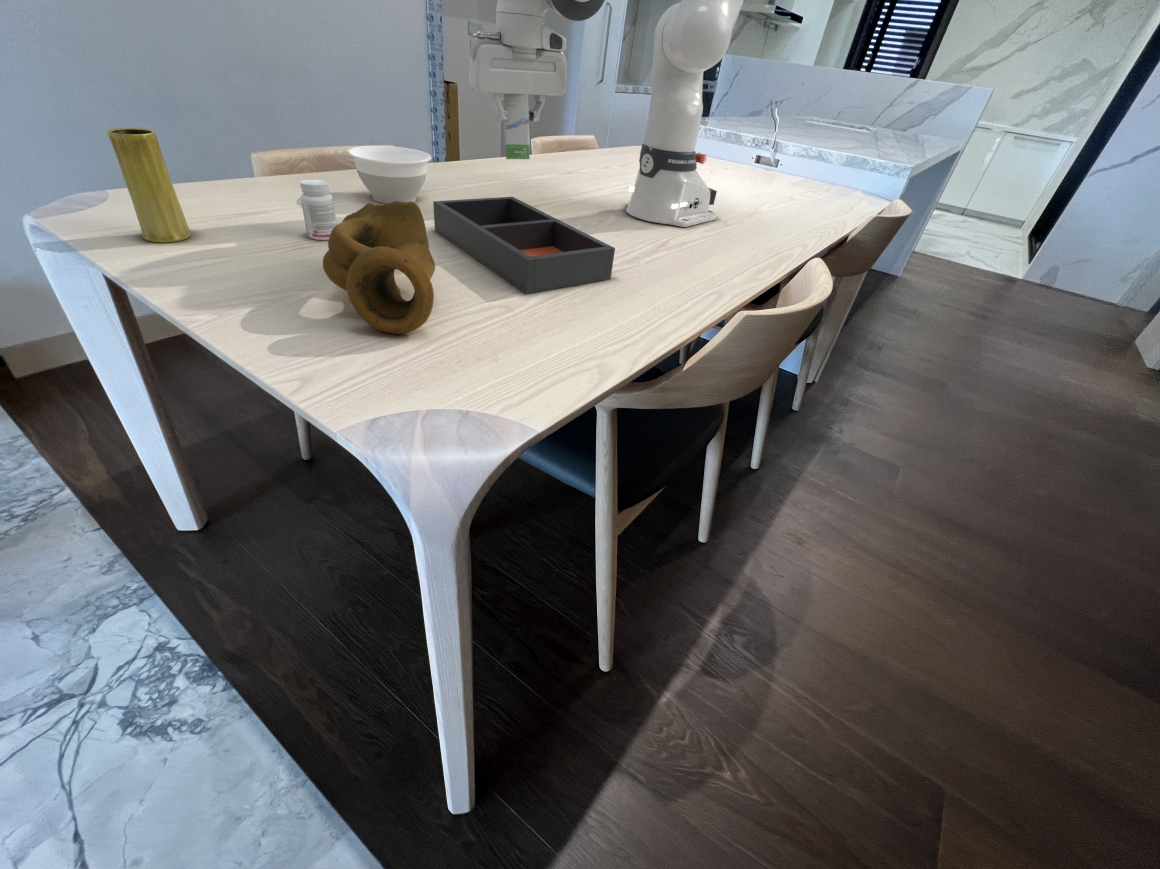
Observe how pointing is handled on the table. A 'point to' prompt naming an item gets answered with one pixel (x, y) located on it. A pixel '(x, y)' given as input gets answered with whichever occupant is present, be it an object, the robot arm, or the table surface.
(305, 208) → the pill bottle
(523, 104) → the ink box
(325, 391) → the table surface
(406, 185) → the bowl
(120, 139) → the vase
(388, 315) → the brown looped sculpture
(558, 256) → the organiser
